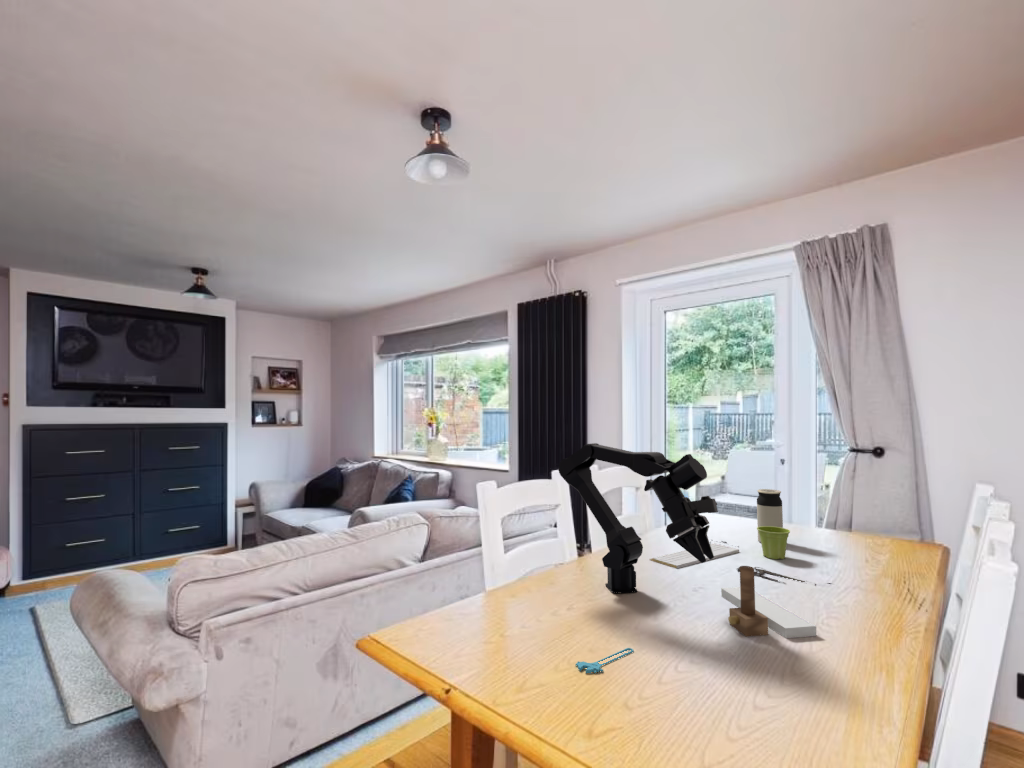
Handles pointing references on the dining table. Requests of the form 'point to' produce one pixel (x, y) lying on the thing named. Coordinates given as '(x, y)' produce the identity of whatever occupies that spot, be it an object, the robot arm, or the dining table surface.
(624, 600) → the dining table surface
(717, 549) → the baseboard
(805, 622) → the board
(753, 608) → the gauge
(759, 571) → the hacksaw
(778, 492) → the travel mug
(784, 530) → the plant pot
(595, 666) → the blue flat looped piece
